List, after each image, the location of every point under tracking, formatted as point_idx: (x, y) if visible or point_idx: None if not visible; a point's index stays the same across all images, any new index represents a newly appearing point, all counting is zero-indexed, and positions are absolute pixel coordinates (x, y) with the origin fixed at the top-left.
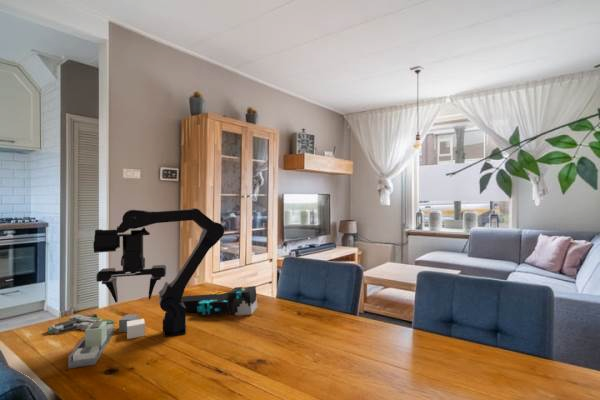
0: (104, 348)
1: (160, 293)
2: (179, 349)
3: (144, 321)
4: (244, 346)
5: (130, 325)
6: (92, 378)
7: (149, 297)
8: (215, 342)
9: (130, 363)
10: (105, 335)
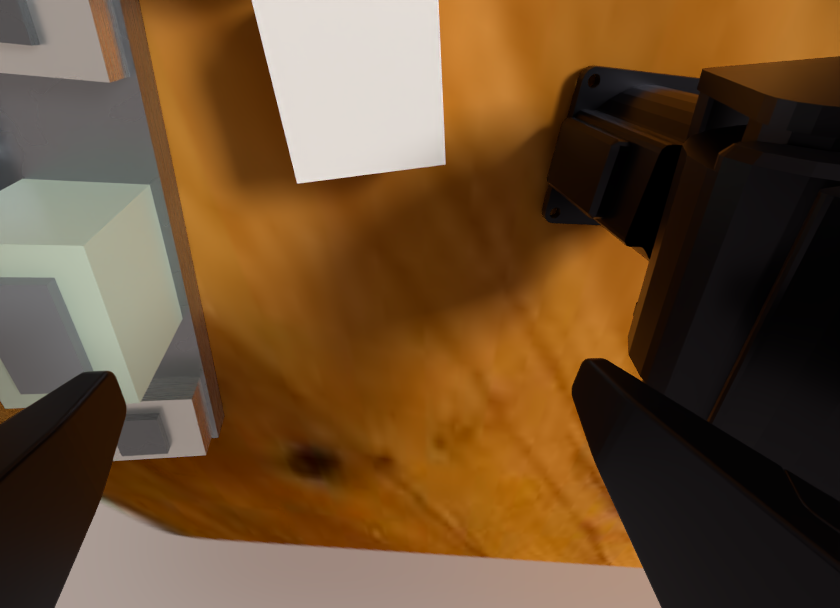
0: (193, 269)
1: (780, 346)
2: (567, 375)
3: (442, 99)
4: None
5: (322, 164)
6: (260, 489)
7: (591, 426)
8: None
9: (375, 432)
10: (146, 233)
